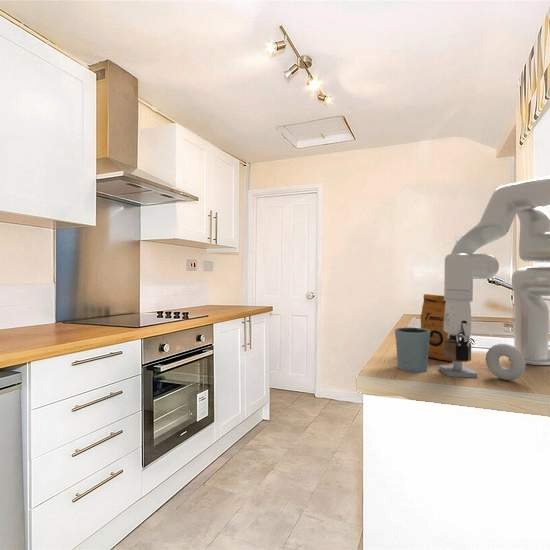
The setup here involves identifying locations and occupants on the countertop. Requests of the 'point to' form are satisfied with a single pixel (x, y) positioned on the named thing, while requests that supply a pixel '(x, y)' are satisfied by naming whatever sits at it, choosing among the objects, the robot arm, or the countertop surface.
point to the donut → (515, 358)
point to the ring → (454, 351)
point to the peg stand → (458, 370)
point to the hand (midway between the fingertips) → (457, 356)
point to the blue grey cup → (412, 349)
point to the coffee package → (434, 324)
